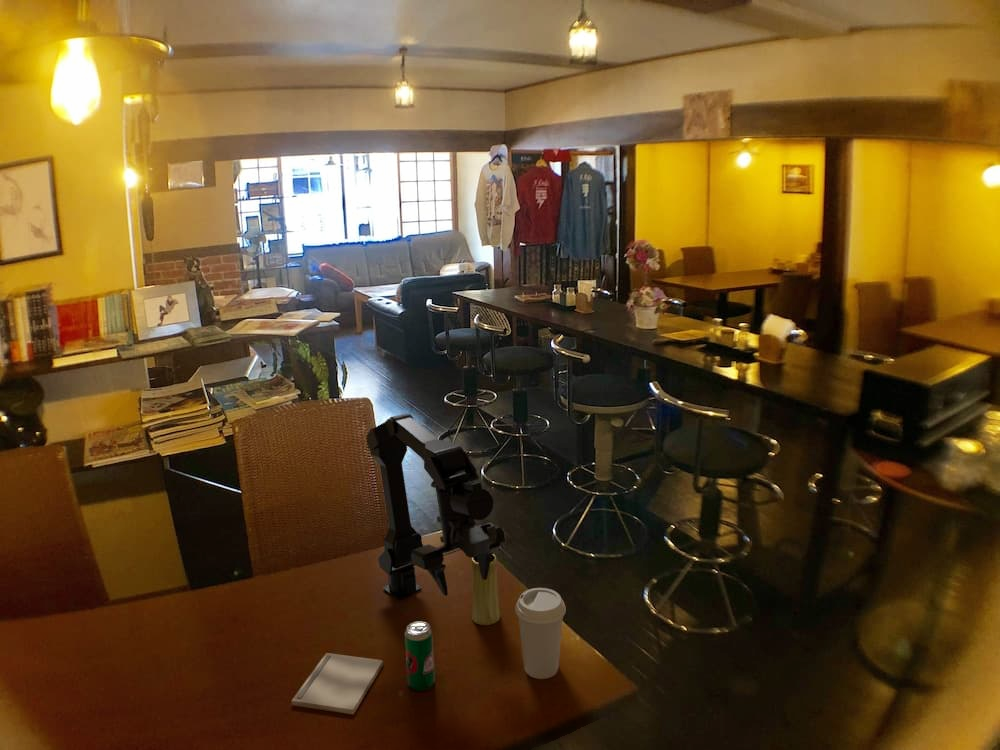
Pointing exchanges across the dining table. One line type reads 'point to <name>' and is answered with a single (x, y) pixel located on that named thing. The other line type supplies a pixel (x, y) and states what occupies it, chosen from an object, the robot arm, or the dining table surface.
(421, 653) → the soda can
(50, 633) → the dining table surface
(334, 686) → the white rectangular tray
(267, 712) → the dining table surface
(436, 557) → the robot arm
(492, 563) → the vase
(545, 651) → the coffee cup
